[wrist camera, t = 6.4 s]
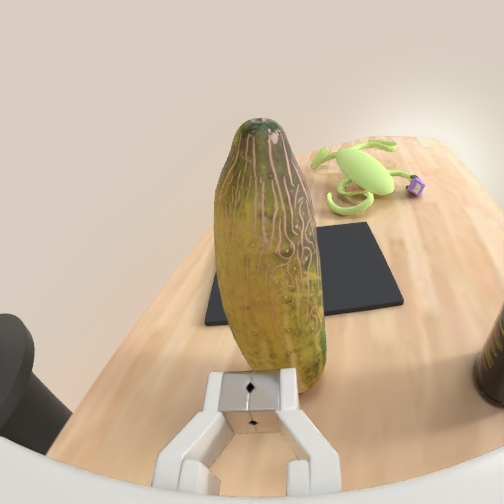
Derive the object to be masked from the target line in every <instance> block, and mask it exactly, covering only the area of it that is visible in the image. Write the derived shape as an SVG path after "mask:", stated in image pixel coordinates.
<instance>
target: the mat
mask: <svg viewBox="0 0 504 504" xmlns="http://www.w3.org/2000/svg"><path fill="white" fill-rule="evenodd" d="M316 229H317V242H318V249H319V254H320V265H321V279H322V292H323V305H324V315H332V314H340V313H348V312H355V311H363V310H370V309H376V308H383V307H390V306H396V305H402V304H403V302H404V299H403V297H402V295H401V293H400V290H399V288H398V286H397V284H396V281H395V279H394V277H393V275H392V273H391V271H390V268H389V266H388V264H387V262H386V260H385V258H384V256H383V254H382V252H381V250H380V248H379V246H378V244H377V242H376V240H375V238H374V236H373V234H372V232H371V230H370V228H369V226H368V224H367V222H359V223H350V224H341V225H332V226H323V227H316ZM225 324H229V323H228V320H227V317H226V314H225V311H224V308H223V306H222V300H221V295H220V290H219V286H218V279H217V271H216V273H215V278H214V282H213V286H212V291H211V295H210V299H209V304H208V308H207V313H206V317H205V325H206V326H209V325H225Z"/></svg>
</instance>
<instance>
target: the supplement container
mask: <svg viewBox="0 0 504 504" xmlns="http://www.w3.org/2000/svg"><path fill="white" fill-rule="evenodd" d="M475 378H476V382H477V385H478V387H479V389H480V390H481V392H482V393H483V394H484V395H485V397H487V398H488V399H489V400H490V401H492V402H494V403H496V404H499V405H504V302H503V304H502V307H501V309H500V312H499V314H498V316H497V318H496V321H495V323H494V325H493V327H492V329H491V331H490V333H489V335H488V338H487V340H486V342H485V344H484V346H483V347H482V349H481V351H480V353H479V355H478V357H477V360H476V363H475Z"/></svg>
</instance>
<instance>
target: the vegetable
mask: <svg viewBox="0 0 504 504" xmlns="http://www.w3.org/2000/svg"><path fill="white" fill-rule="evenodd" d="M214 240H215V255H216V271H217V279H218V286H219V290H220V295H221V300H222V306H223V308H224V311H225V314H226V317H227V320H228V323H229V326H230V329H231V331H232V333H233V336H234V339H235V340H236V342H237V344H238V346H239V348H240V350H241V352H242V354H243V355H244V357H245V359H246V360H247V362H248V364H249V365H250V367H251V368H252V369H253V371H255V370H268V369H285V368H296V376H297V385H298V393H301V392H304V391H307V390H309V389H310V388H311V387H312V386H313V385H314V384H315V383H316V382H317V381H318V379H319V378H320V377H321V375H322V373H323V370H324V367H325V363H326V336H325V321H324V305H323V292H322V279H321V265H320V254H319V249H318V242H317V229H316V222H315V217H314V211H313V207H312V200H311V197H310V194H309V190H308V187H307V184H306V181H305V179H304V176H303V174H302V172H301V170H300V168H299V165H298V163H297V161H296V159H295V157H294V155H293V152H292V150H291V148H290V145H289V142H288V139H287V137H286V134H285V132H284V130H283V129H282V127H281V126H280V125H279V124H278V123H277V122H275V121H273V120H271V119H267V118H258V119H251V120H248V121H246V122H245V123H243V124H242V125H241V126H240V128H239V129H238V130H237V132H236V135H235V137H234V139H233V142H232V147H231V150H230V153H229V156H228V158H227V161H226V163H225V165H224V167H223V169H222V172H221V175H220V178H219V181H218V184H217V188H216V191H215V201H214Z"/></svg>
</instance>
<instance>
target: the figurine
mask: <svg viewBox="0 0 504 504" xmlns="http://www.w3.org/2000/svg"><path fill="white" fill-rule="evenodd" d="M371 147H373V148H379V149H382V150H384V151H387V152H393V151H395V150H396V148H397V144H396V143H395V142H392V141H385V140H369V141H368V142H366V143H360V144H357V145H355V146H353V147H351V148H346V147H345V148H341V149H339V150H338V152H333V153H330V154H328V155H325V154H326V153H327V152H328V151H329V149H328V148H327V147H324V148H322V149H321V150H320V151H319V152H318V154H317V155H316V157H315V158H314V159H313V161H312V163H311V168H313V169H314V168H316V167H317V166H319V165H320V164H322V163H324V162H326V161H329V160H331V159H334V158H336V160H337V163H338V165H339V167H340V168H341V170H342V171H343V172H344V173H345V174H346V175H347V176H348V177H346V178H344V179H343V180H342V181H340V183H339V185H338V186H337V191H338V193H339V194H342V195H355V194H364V195H365V196H366V197H367V198H366V199H365V200H364V201H363V202H362V203H360V204H359V205H357V206H353V207H347V208H344V207H339V206H337V205H336V204H335V203H334V202H333V201H332V196H331V193H328V194H327V196H326V197H327V204H328V206H329V207H330V208H331V209H332V210H333V211H334V212H336V213H338V214H340V215H354V214H358V213H361V212H362V211H364V210H366V209H367V208H368V207H369V206H371V205H372V203H373V201H374V197H373V193H374V194H378V195H388V194H390V193H392V192H393V191H394V181H393V179H392V177H391V176H401V177H404V178H407V179H409V181H410V182H411V183H410V185H409V186H406V189H407V190H409V191H411V192H412V193H414V194H415V195H417V196H419V195H420V194H421V192H422V191H423V189H424V187H425V184H424V183H423V182H422V181H421V179H419V178H418V177H417V176H416V175H412V174H410V173H407V172H404V171H398V170H386V169H385V167H384V166H383V165H382V164H381V163H380V162H379V161H378V160H376V159H375V158H374V157H373V156H371V155H369V154H367V153H366V152H364V151H361V150H360V149H363V148H371ZM324 155H325V156H324ZM351 182H354V183H356V184H357V185H358V186H360V187H361V188H363V189H365V190H364V191H359V192H344V188H345V186H346V185H347V184H349V183H351Z"/></svg>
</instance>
